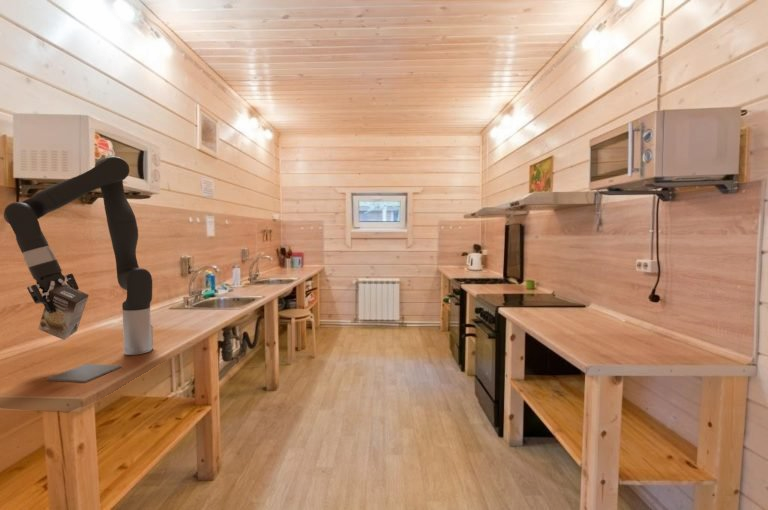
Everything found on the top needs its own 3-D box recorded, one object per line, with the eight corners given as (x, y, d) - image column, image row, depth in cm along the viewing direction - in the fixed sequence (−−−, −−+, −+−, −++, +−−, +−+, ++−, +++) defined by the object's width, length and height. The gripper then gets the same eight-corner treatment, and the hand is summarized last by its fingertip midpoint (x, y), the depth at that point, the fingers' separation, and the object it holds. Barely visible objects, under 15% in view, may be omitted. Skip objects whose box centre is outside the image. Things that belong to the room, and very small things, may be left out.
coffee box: (36, 329, 131) (47, 290, 126) (52, 320, 137) (62, 282, 132) (64, 340, 132) (75, 302, 127) (78, 331, 138) (89, 294, 134)
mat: (86, 365, 138) (85, 363, 138) (121, 367, 136) (121, 365, 136) (46, 380, 124) (46, 378, 124) (85, 382, 122) (85, 380, 122)
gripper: (28, 265, 121) (52, 314, 124) (71, 254, 135) (91, 298, 138) (10, 271, 122) (34, 319, 125) (54, 259, 136) (75, 303, 139)
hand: (64, 308), depth 132 cm, fingers closed on coffee box, 7 cm apart
